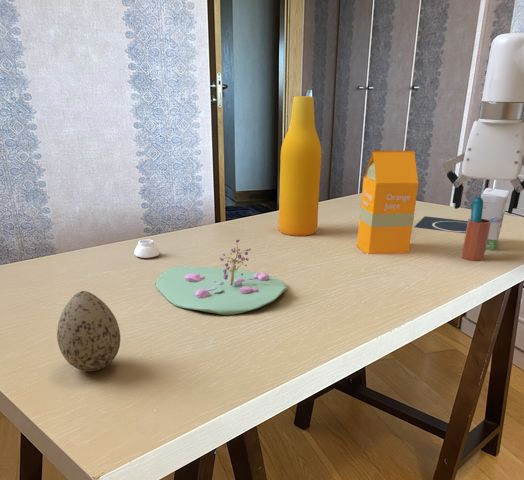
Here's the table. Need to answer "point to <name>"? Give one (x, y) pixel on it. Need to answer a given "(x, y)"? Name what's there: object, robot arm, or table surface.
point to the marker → (477, 209)
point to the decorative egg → (88, 333)
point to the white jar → (146, 249)
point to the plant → (219, 287)
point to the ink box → (494, 213)
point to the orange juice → (388, 202)
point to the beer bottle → (300, 172)
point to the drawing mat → (443, 224)
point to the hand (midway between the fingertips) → (483, 209)
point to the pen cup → (476, 240)
